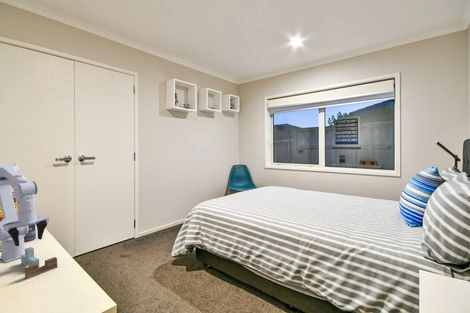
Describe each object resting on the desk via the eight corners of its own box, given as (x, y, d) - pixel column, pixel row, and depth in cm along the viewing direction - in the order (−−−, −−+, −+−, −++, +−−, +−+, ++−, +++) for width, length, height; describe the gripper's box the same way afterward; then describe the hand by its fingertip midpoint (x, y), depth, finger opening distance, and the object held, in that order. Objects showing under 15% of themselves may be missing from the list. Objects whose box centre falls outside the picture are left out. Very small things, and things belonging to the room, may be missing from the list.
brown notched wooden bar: (25, 277, 90) (24, 267, 90) (55, 266, 98) (54, 256, 98) (27, 279, 89) (26, 269, 89) (57, 267, 97) (57, 257, 97)
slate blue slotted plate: (21, 263, 101) (20, 246, 101) (27, 261, 103) (26, 245, 103) (33, 270, 95) (32, 252, 95) (39, 268, 97) (38, 250, 97)
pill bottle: (27, 242, 124) (25, 222, 124) (18, 242, 125) (16, 221, 125) (39, 238, 130) (37, 218, 130) (30, 237, 131) (29, 218, 131)
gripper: (7, 216, 90) (9, 250, 90) (51, 207, 102) (53, 237, 103) (0, 214, 93) (2, 247, 94) (44, 205, 106) (45, 235, 106)
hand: (28, 242), depth 99 cm, fingers open, 7 cm apart
